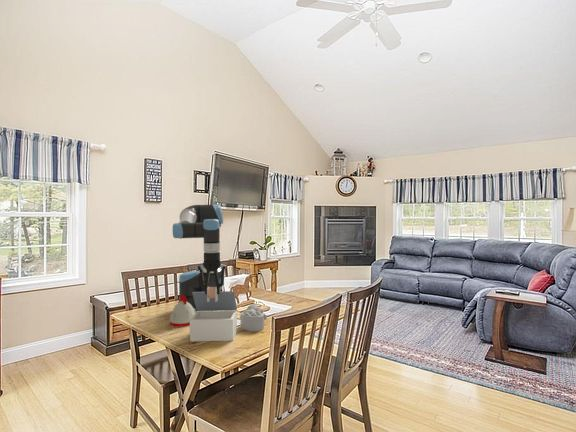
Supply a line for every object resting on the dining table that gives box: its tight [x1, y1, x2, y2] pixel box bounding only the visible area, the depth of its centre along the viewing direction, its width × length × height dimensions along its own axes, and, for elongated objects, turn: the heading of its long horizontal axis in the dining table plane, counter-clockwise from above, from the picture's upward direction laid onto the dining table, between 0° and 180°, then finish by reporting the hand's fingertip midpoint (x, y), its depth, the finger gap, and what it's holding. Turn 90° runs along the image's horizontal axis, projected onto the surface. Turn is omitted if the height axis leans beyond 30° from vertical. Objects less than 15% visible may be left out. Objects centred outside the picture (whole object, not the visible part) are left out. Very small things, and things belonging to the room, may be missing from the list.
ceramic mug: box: [246, 304, 268, 319], centre depth 194 cm, size 11×8×8 cm
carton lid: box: [192, 287, 238, 311], centre depth 168 cm, size 18×20×6 cm
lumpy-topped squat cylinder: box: [240, 309, 265, 332], centre depth 180 cm, size 10×13×9 cm
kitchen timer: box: [169, 295, 196, 328], centre depth 189 cm, size 14×14×15 cm
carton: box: [189, 310, 238, 342], centre depth 168 cm, size 14×20×10 cm
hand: (212, 300), depth 165 cm, fingers closed on carton lid, 3 cm apart
